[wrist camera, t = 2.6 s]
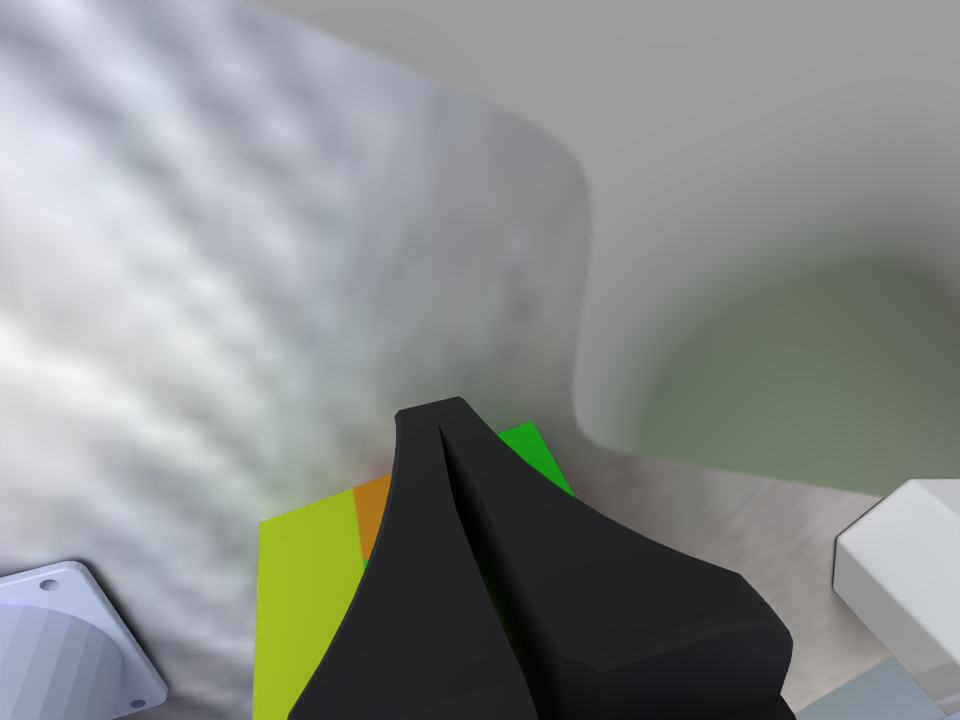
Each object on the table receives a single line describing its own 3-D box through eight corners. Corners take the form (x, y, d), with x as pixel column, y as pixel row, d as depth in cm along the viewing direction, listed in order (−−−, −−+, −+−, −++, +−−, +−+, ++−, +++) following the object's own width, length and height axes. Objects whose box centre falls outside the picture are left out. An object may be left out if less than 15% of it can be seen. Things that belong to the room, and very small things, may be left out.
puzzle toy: (359, 670, 27) (394, 975, 19) (259, 521, 21) (246, 864, 13) (573, 584, 28) (695, 838, 20) (531, 419, 22) (679, 680, 14)
